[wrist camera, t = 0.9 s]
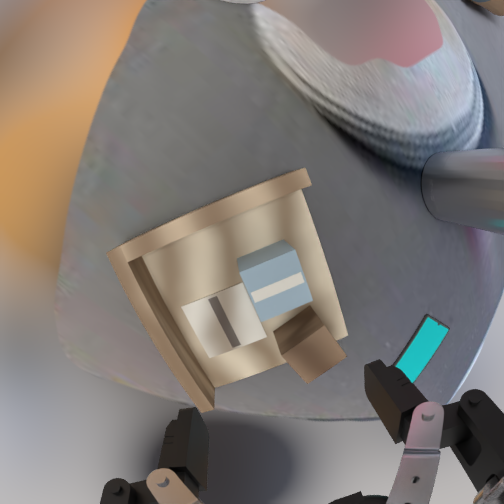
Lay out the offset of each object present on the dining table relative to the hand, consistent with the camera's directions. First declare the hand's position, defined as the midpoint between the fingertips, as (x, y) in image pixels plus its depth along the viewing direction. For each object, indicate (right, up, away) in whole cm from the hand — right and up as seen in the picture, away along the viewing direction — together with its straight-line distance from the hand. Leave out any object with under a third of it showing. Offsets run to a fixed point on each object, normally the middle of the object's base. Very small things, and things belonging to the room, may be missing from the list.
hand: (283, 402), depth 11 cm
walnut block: (+4, -2, +19) cm, 20 cm away
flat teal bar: (+23, -10, +25) cm, 35 cm away
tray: (-2, +2, +19) cm, 19 cm away
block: (0, +5, +17) cm, 18 cm away
